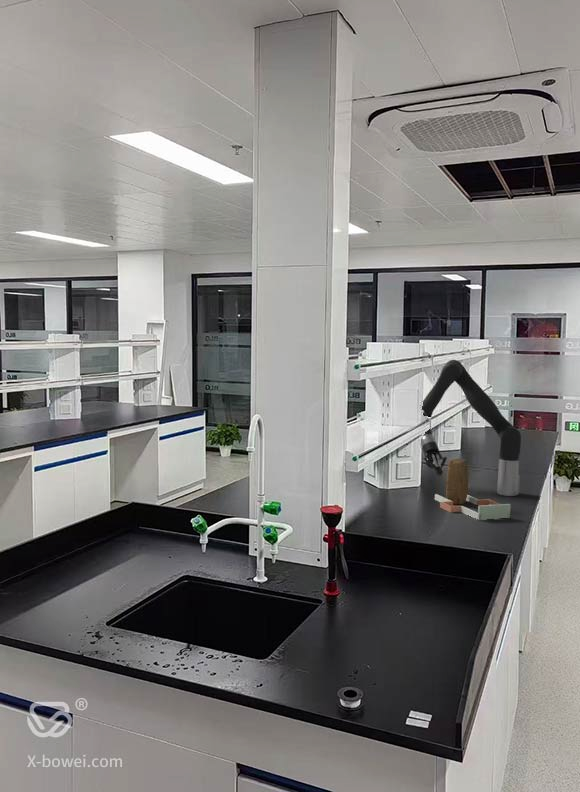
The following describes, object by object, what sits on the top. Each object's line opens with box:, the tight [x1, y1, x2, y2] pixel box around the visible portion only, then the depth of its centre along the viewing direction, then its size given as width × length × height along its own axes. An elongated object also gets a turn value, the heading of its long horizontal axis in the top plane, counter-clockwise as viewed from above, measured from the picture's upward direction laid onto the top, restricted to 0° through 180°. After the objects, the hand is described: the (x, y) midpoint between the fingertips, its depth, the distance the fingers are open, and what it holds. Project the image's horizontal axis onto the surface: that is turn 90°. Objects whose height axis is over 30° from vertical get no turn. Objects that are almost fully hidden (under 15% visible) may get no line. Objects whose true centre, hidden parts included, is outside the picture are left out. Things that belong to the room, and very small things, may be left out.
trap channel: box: [434, 493, 512, 521], centre depth 297 cm, size 25×36×6 cm
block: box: [445, 458, 469, 505], centre depth 307 cm, size 11×8×20 cm
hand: (440, 474), depth 322 cm, fingers closed
